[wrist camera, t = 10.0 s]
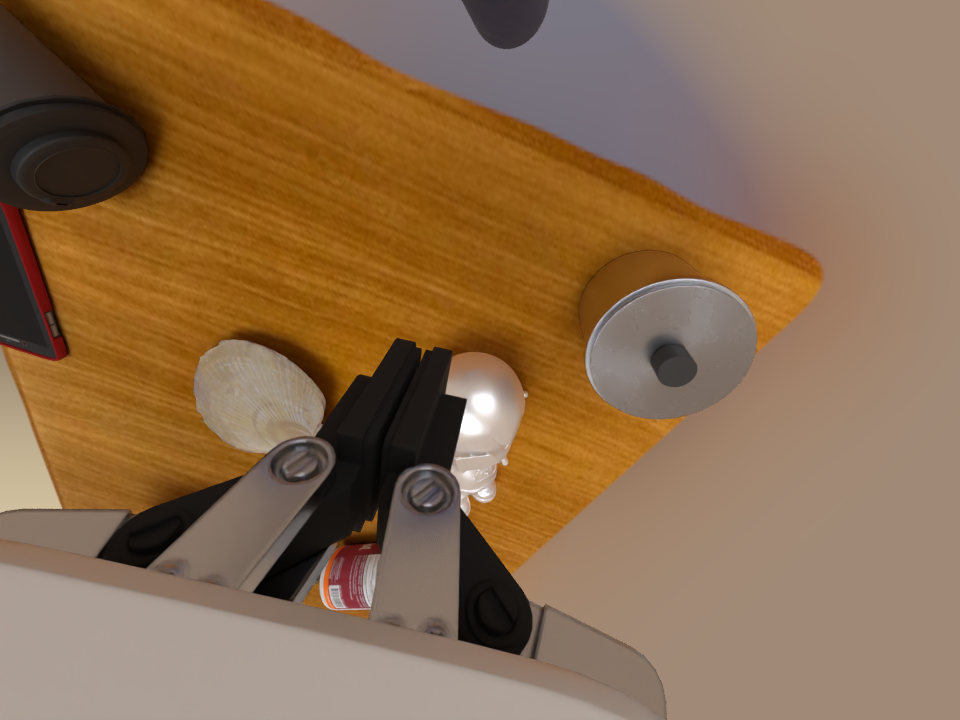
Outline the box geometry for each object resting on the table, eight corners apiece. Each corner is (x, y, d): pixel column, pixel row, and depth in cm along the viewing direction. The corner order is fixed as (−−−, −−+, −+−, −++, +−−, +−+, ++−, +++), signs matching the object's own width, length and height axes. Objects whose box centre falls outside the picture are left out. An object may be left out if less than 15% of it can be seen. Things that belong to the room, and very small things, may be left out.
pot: (596, 233, 22) (623, 273, 16) (731, 259, 22) (817, 311, 16) (560, 348, 27) (568, 419, 20) (672, 371, 27) (719, 450, 20)
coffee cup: (-173, 73, 18) (0, 241, 20) (-308, -132, 13) (-51, 126, 15) (39, 73, 24) (159, 204, 26) (11, -69, 18) (166, 111, 20)
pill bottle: (357, 552, 45) (441, 547, 43) (344, 613, 41) (436, 611, 39) (326, 539, 41) (418, 533, 38) (309, 606, 37) (410, 604, 34)
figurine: (434, 562, 28) (435, 451, 18) (390, 487, 32) (371, 363, 22) (535, 490, 33) (579, 372, 23) (485, 433, 38) (505, 312, 27)
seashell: (200, 312, 29) (168, 328, 27) (345, 354, 29) (327, 374, 27) (218, 420, 35) (194, 441, 33) (338, 454, 35) (323, 478, 33)
